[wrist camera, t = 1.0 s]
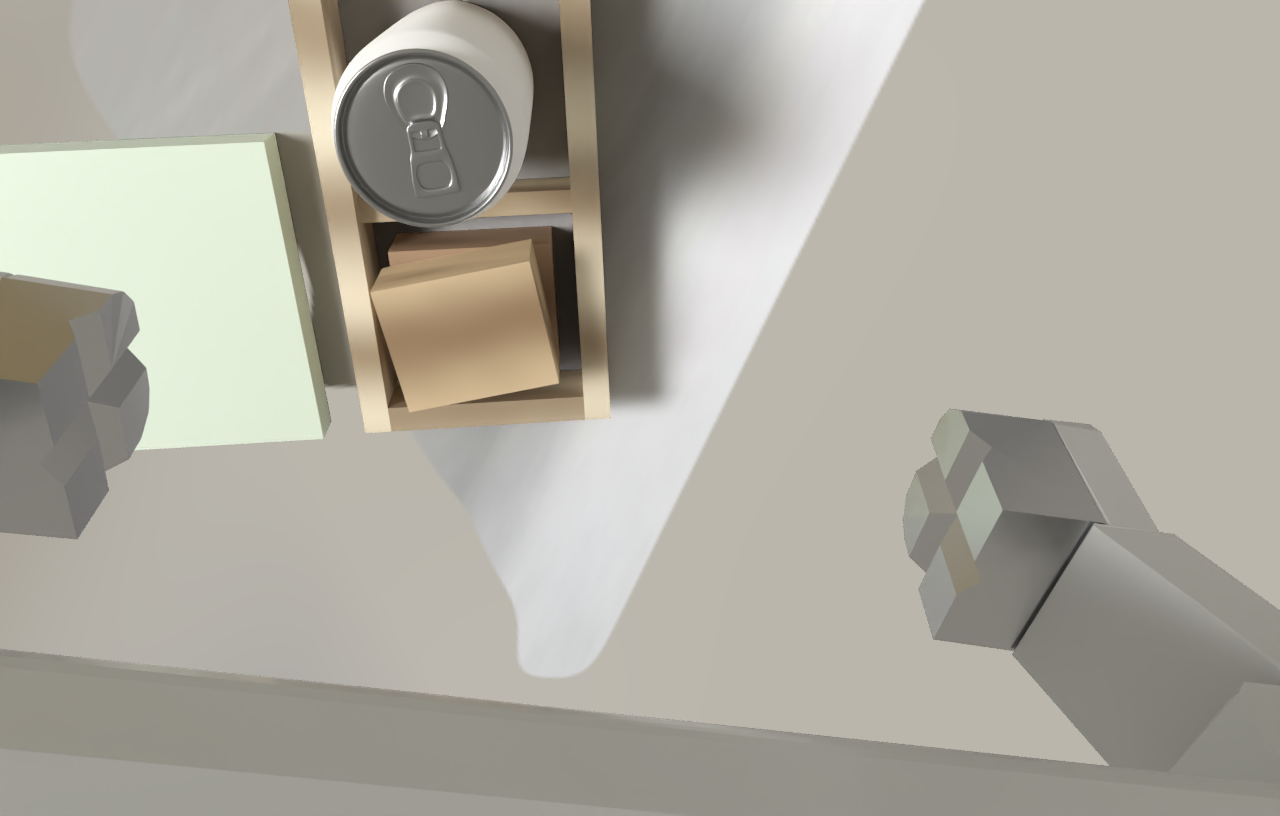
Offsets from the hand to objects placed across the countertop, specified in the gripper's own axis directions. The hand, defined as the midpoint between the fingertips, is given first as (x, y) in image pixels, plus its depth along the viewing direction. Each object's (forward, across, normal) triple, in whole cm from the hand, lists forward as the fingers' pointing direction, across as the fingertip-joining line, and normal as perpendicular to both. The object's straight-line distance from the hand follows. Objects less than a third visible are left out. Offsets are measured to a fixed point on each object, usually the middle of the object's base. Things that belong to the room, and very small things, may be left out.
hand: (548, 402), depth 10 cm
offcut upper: (+29, -4, -18) cm, 35 cm away
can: (+34, -6, -10) cm, 36 cm away
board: (+31, -18, -21) cm, 41 cm away
